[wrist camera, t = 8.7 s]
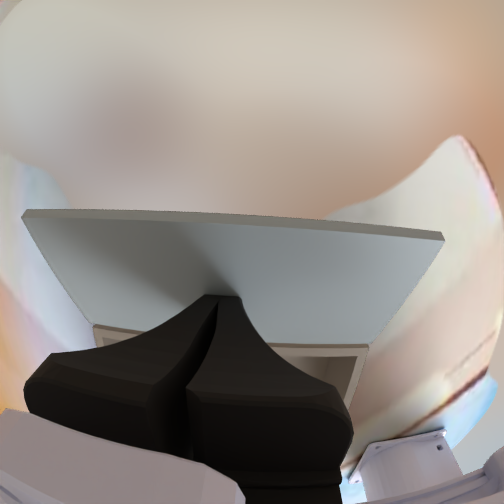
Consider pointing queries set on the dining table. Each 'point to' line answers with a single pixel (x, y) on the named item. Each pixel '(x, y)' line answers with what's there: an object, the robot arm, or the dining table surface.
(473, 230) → the dining table surface
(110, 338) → the carton
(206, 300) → the robot arm
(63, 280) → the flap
